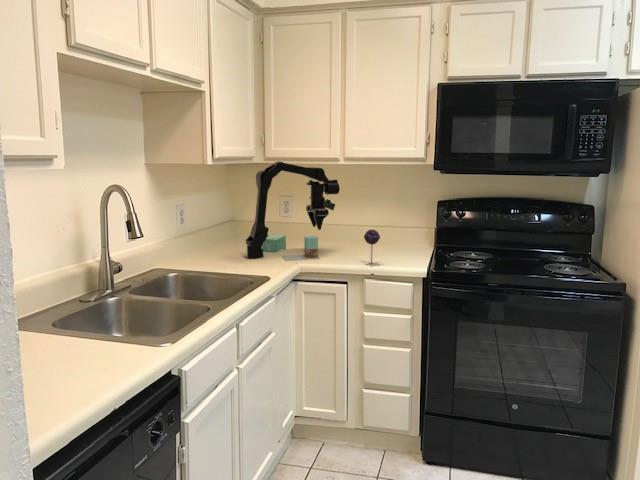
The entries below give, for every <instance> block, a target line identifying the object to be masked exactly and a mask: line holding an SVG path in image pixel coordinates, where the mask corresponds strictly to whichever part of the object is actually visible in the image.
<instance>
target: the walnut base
mask: <svg viewBox="0 0 640 480" xmlns="http://www.w3.org/2000/svg"><path fill="white" fill-rule="evenodd" d="M304 254H305V257H306V258H318V257H319V248H318V249H306V248H305V247H304Z"/></svg>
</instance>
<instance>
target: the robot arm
mask: <svg viewBox="0 0 640 480" xmlns="http://www.w3.org/2000/svg"><path fill="white" fill-rule="evenodd" d="M281 172H287V173H292V174H297V175H302V176H303V177H307V178H308V179H309V181H308V182H306V186H310V196H309V200H310V204H307V205H306V207H305V211H306V214H307V216H308V218H309V220H310V223H311V225H312V227H313V228H316V227H317V230H318V231H321V230H322V225H323V223H324V219H326V217H328V215H329V214H330V213H329V210H331V211H334V210H335V208H336V204H335V203H333V202H331V199H326V198H325V197H324V194H325V195H338V194H339V193H340V189H341V188H340V184H339V182H338V179H329V178H328V177H327V175H326V172H325V170H324V169H323V167H315V166H301V165H297V164H291V163H286V162H283V161H276V162H274V163H273V164H271V165H269V166H268V167H266V168H265V169H260V170H259V171H257V172H256V174H255V183H256V188H257V194H256V195H257V196H256V197H257V198H256V207H255V216H254V222H253V224H252V227H251V231H250V234H249V235H248V237H247V238H246V239H245V244H246V258H247V259H252V260H255V259H257V260H258V259H262V258H264V252H263V249H262V245H263V242H264V241H266V238H267V237H268V236H269V235H268V234H269V229H270V228H269V227H268V226H266V223H265V222H266V214H267V213H266V212H267V204H268V203H267V201H268V193H269V190H270V188H271V187H272V182H273V179H274V178H276V177H277V176H278V174H280V173H281ZM313 180H315V181H313ZM328 209H329V210H328Z"/></svg>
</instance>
